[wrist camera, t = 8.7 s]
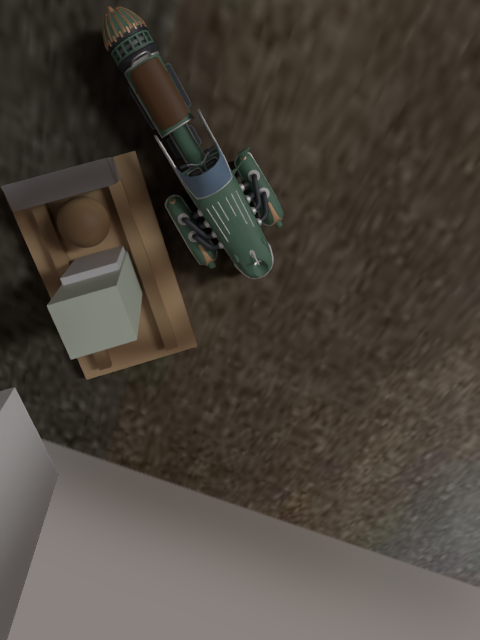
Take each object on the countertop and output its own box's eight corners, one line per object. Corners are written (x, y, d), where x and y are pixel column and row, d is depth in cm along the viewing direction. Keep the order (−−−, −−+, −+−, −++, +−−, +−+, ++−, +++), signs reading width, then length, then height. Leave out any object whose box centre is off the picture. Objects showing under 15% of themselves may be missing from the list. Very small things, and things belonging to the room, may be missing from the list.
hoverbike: (216, 289, 47) (227, 316, 40) (64, 48, 38) (39, 22, 30) (294, 242, 47) (321, 260, 39) (161, -14, 37) (161, -57, 30)
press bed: (5, 185, 40) (-25, 193, 34) (135, 150, 41) (130, 151, 34) (88, 374, 48) (76, 410, 41) (196, 341, 49) (202, 372, 42)
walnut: (54, 201, 40) (42, 207, 36) (102, 188, 41) (95, 192, 37) (73, 248, 42) (64, 258, 38) (119, 235, 42) (114, 244, 38)
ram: (73, 258, 42) (43, 297, 31) (125, 244, 42) (113, 277, 31) (93, 307, 44) (70, 359, 33) (142, 292, 44) (137, 340, 33)
